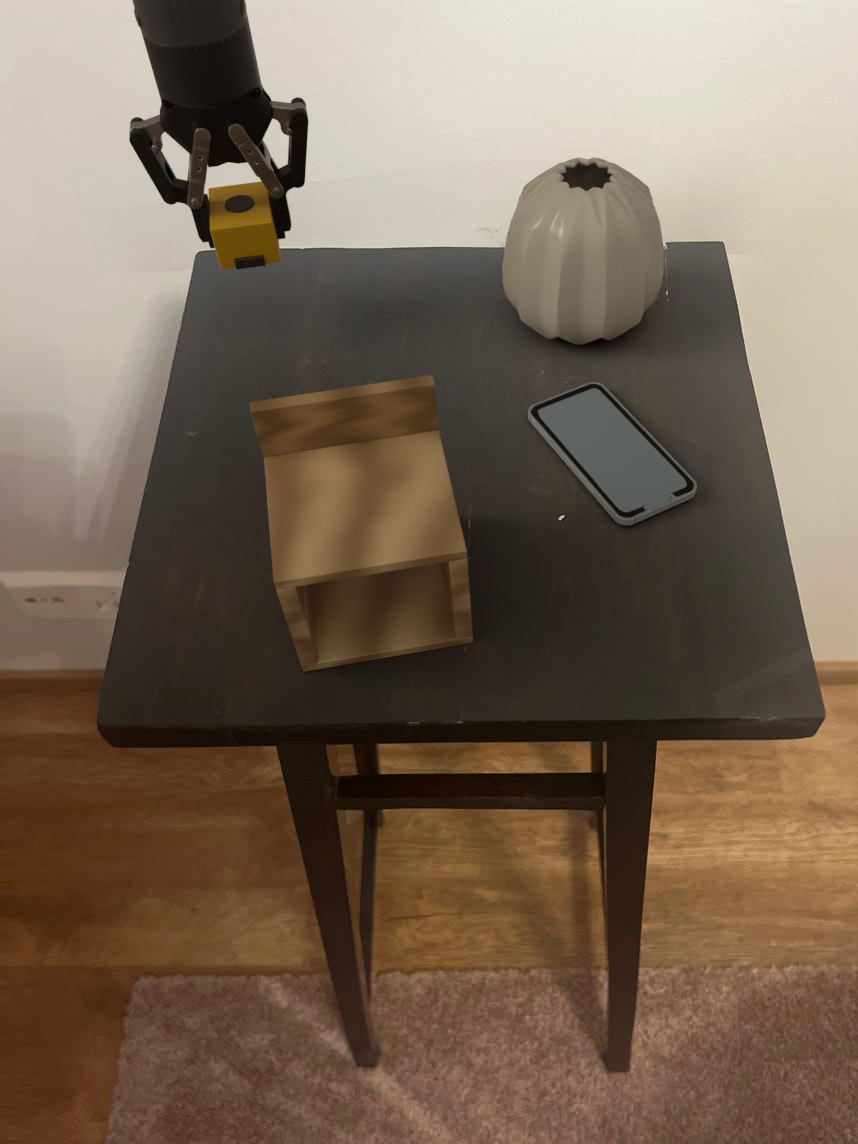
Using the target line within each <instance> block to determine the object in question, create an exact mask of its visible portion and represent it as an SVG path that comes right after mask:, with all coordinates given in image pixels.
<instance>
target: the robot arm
mask: <svg viewBox="0 0 858 1144" xmlns="http://www.w3.org/2000/svg"><path fill="white" fill-rule="evenodd" d="M132 4H133V13H134V18H135V20H136V24H137V26H138V27H139V28H140V32H141V35H142V39H143V42H144V46H145V50H146V53H147V56H148V60H149V63H150V67H151V70H152V73H153V77H154V82H155V85H156V87H157V91H158V95H159V98H160V102H161V105H160V108H159V114H157V115H155V116H152V117H149V118H146V119H143V118H142V117H139V116H135V117H132V118H131V120H130V121H129V139H128V140H129V143H130V145H131V147H132V148H133V150H134V152H135V154H136V156H137V157H138V159H139V161H140V163H141V164H142V166H143V168H144V170H145V171H146V173H147V174H148V176H149V178H150V180H151V181H152V183H153V185H154V187H155V188H156V190H157V191H158V193H159V196H160V197H161V199H162V200H163V202H164V203H166V204H167V205H175V204H176V203H178V204H179V203H180V204H184V205H186V206H187V207H188V208H189V209H190V211H191V215H192V219H193V221H194V225H195V229H196V231H197V235H198V238H199V240H200V241H201V242H202V243H208V246H209V249H215V247H214V243H213V240H212V236H211V232H210V208H209V194H208V193H205V186H206V181H207V173H208V168H214V167H215V168H216V167H219V166H223V165H224V164H227V163H230V164H248V166H249V167H250V168H251V170H252V172H253V173H254V175H255V176H256V177H257V178H259V179H260V182H261V181H262V183H263V184H264V186H265V187H266V189H267V190H268V198H269V204H270V208H271V211H272V216H273V220H274V225H275V229H276V234H277V238H278V239H279V240H285V239H286V232H291V229H292V219H291V213H290V208H289V203H288V202H289V201H288V198H287V193H288V192H289V191H290V190H292V189H294V188H295V189H300V188H302V187H304V185H305V182H306V172H307V171H306V168H307V153H308V152H307V151H308V137H309V135H308V134H309V115H308V109H307V102H306V101H305V100H304V99H303V98H302V97H298V96H296V97H294V98H293V99H291V100H290V102H287V101H286V102H285V101H278V100H272V98H271V96H270V95H269V94H268V93H267V92H266V90H265V88H264V86H263V84H262V80H261V75H260V74H261V73H260V69H259V65H258V60H257V55H256V50H255V45H254V40H253V36H252V31H251V25H250V21H249V16H248V11H247V2H246V0H132ZM273 120H275V121H277V122H278V123H279V126H280V131H281V132H282V133H283V134H284V135H285V136H288V148H287V149H288V151H287V164H285V165H283V166H281V167H278V165H277V163H276V161H275V159H274V158H273V157H272V154H271V153H270V151H269V148H268V146H267V144H266V143H265V141H264V138H265V135H266V134H267V131H268V129H269V127H270V125H271V123H272V121H273ZM164 133H166V134H167V135H168V136H169V137H170V138H171V139H172V140H174V141H175V142H176V143H177V144H178V145H179V146H180V147H181V148H183V149H184V150H185V151H186V152H187V153H188V154H189V156H188V170H187V179H181V178H177V176H176V174H175V173H174V171H173V169H172V167H171V165H170V163H169V161H168V160H167V158H166V157H165V154H164V153H163V151H162V149H163V145H164V144H163V143H164V139H163V134H164Z"/></svg>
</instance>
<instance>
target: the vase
mask: <svg viewBox="0 0 858 1144" xmlns="http://www.w3.org/2000/svg"><path fill="white" fill-rule="evenodd" d="M663 242H664V241H663V233H662V227H661V221H660V219H659V216H658V213H657V209H656V207H655V205H654V199H653V196H652V193H651V190H650V188H649V186H648V185H647V184H646V183H645V182H643V181H642V180H641V179H640V178H638V176H636V175H634V174H633V173H632V172H630V171H628V170H627V169H625V168H623V167H622V166H620V165H618V164H617V163H614V162H611V161H608V160H605V159H603V158H600V157H590V158H583V157H574V158H570V159H568V160H566V161H562V162H559V163H557V164H554V165H553V166H551V167H549V168H548V169H546V170H544V171H543V172H541V173H540V174H539V175H537V176H535V177H534V178H533V179H531V180H530V181H528V183H526V184H525V185H524V186H523V188H522V190H521V193H520V195H519V196H518V201H517V204H516V207H515V210H514V212H513V215H512V217H511V219H510V222H509V227H508V231H507V234H506V240H505V245H504V250H503V259H502V267H501V268H502V269H501V275H502V277H501V278H502V287H503V291H504V295H505V297H506V299H507V300H508V301H509V302H510V304H511V305H512V306H513V308H514V309H515V310H516V311H517V313H518V316H519V320H520V321H521V322H523V323H524V324H525V325H526V326H528V327H529V328H531V329H532V330H533V331H535V332H536V333H538V334H539V335H541V337H544V338H545V339H547V340H554V339H562V340H564V341H566V342H569V343H570V344H573V345H576V346H581V345H584V344H587V343H591V342H593V341H596V340H598V339H601V340H604V341H611V340H614V339H616V338H618V337H619V336H621V335H622V334H624V333H626V332H628V331H629V330H630V329H632V328H634V327H635V326H637V325H639V324H640V323H641V321H642V319H643V316H644V313H645V312H646V311H647V310H648V309H649V308H650V307H651V306H652V305H653V303H655V302H656V300H657V299H658V297H659V295H660V291H661V288H662V285H663V280H664V279H663V278H664V269H665V268H664V264H665V263H664V244H663Z"/></svg>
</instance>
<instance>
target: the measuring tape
mask: <svg viewBox="0 0 858 1144" xmlns="http://www.w3.org/2000/svg"><path fill="white" fill-rule="evenodd" d="M207 191H208V199H209V208H210V232H211V236H212V240H213V243H214V247H215V248H214V250H215V253H216V257H217V261H218V264H219V267H220V268H219V269H220V270H228V269H229V270H230V269H236V270H242V269H243V270H244V269H251V268H258V267H265V266H266V264H274V263H281V262H282V259H281V258H282V257H281V250H280V239H278V238H277V234H276V229H275V225H274V220H273V216H272V211H271V208H270V204H269V198H268V190H267V189H266V187H265V186H264V184H263V183H262V181H261V180H260V181H255V182H248V183H247V182H246V183H239V184H231V185H224V186H215V187H209V188H208V190H207Z"/></svg>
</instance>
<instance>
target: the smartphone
mask: <svg viewBox="0 0 858 1144" xmlns="http://www.w3.org/2000/svg"><path fill="white" fill-rule="evenodd" d="M527 419H528V422H530V424H531V425H532V426H533V427H534V428H535V429H536V431H537V432H538V433H539V434H540V436H541V437H543V439H544V440H545V441H546V442H547V444H548V445H549V446H550V447H551V448H552V450H554V452H555V453H556V454H557V455H558V456H559V458H560V459H561V460H562V461H563V462H564V463H565V465H566V466H567V467H568V468H569V469H570V470H571V472H573V474H574V475H575V476H576V477H577V479H578V480H579V481H580V482H581V483H582V485H583V486H584V487H585V488H586V489H587V490H588V491H589V493H590V494H591V495H592V496H593V497H594V499H595V500H596V501H597V502H598V503H599V505H600V506H601V507H602V508H603V509H604V510H605V511H606V512H607V514H608V515H609V516H610V517H611V518H612V520H613V521H614V522H616V523H617V524H619V525H621V526H632V525H634V524H637V523H640V522H642V521H644V520H646V519H648V518H651V517H653V516H655V515H657V514H660V513H662V512H664V511H666V510H669V509H671V508H673V507H676V506H677V505H681V504H682V503H685V502H687V501H689V500H691V499H693V498H694V497H695V496H696V493H697V488H698V486H697V485H698V484H697V482H696V480H695V479H694V478H693V477H692V476H691V475H690V474H689V472H687V471H686V470H685V469H684V468H683V467H682V466H681V464H680V463H679V462H678V461H677V460H676V459H675V458H674V457H673V456H672V455H671V454H670V453H669V452H668V451H667V450H666V449H665V448H664V447H663V445H661V443H660V442H659V441H658V440H657V439H656V438H655V437H654V436H653V435H652V434H651V433H650V432H649V431H648V430H647V429H646V428H645V427H644V426H643V424H642V423H640V422H639V421H638V420H637V418H636V417H635V416H634V415H633V414H632V413H631V412H630V411H629V410H628V409H627V408H626V407H625V406H624V404H622V402H620V400H619V399H618V398H617V397H616V396H615V395H614V394H613V393H612V392H611V391H610V390H609V389H608V388H607V387H606V386H605V385H604V384H602V383H600V382H595V381H592V382H587V383H584V384H582V385H579V386H577V387H575V388H572V389H569V390H566V391H564V392H562V393H559V394H556V395H554V396H551V397H549V398H547V399H543V400H542V401H539V402H537V403H534V404H531V405H530V406H529V408H528V410H527Z"/></svg>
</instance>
